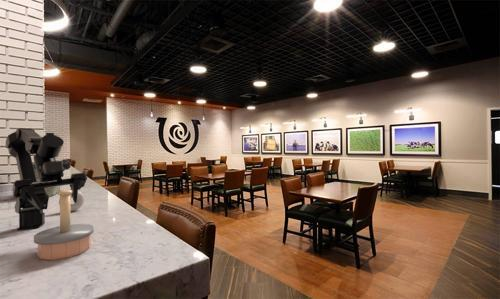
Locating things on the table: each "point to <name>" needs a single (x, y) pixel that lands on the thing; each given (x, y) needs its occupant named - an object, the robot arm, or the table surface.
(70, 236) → the cover
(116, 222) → the table surface
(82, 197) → the donut
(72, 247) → the bowl
